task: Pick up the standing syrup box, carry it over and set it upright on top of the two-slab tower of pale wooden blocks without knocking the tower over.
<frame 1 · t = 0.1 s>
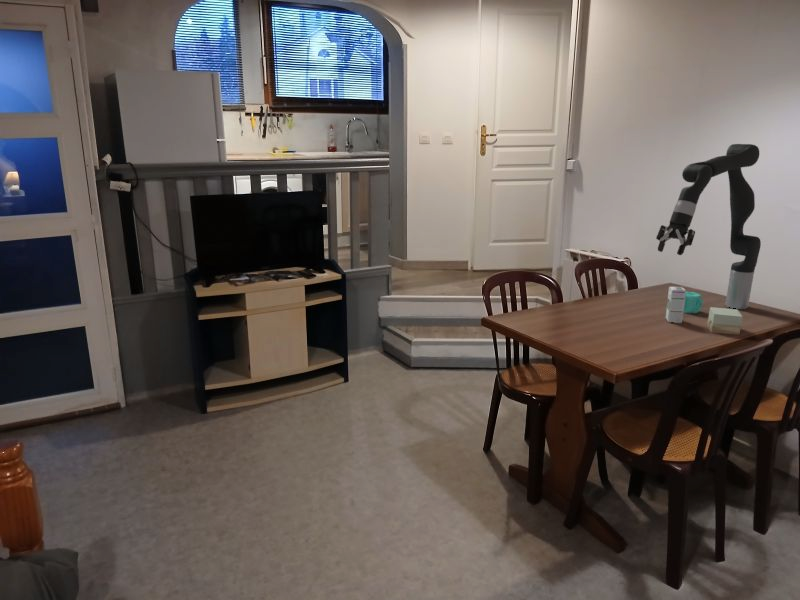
hand: (669, 253, 232), 31 cm above the table, tool tilted 20°, fingers open, 8 cm apart
decorative dice: (688, 311, 263), on the table
tower bottom: (722, 330, 238), on the table, touching tower top
tower top: (724, 321, 237), point 4 cm above the table, touching tower bottom
syrup box: (673, 321, 249), on the table
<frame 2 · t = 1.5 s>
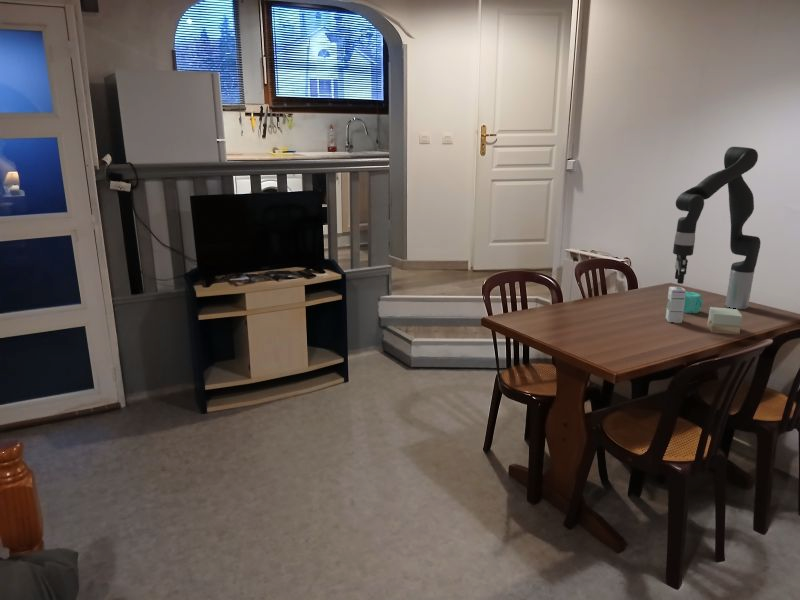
hand: (678, 281, 244), 18 cm above the table, tool pointing down, fingers open, 8 cm apart
nothing on the table moved.
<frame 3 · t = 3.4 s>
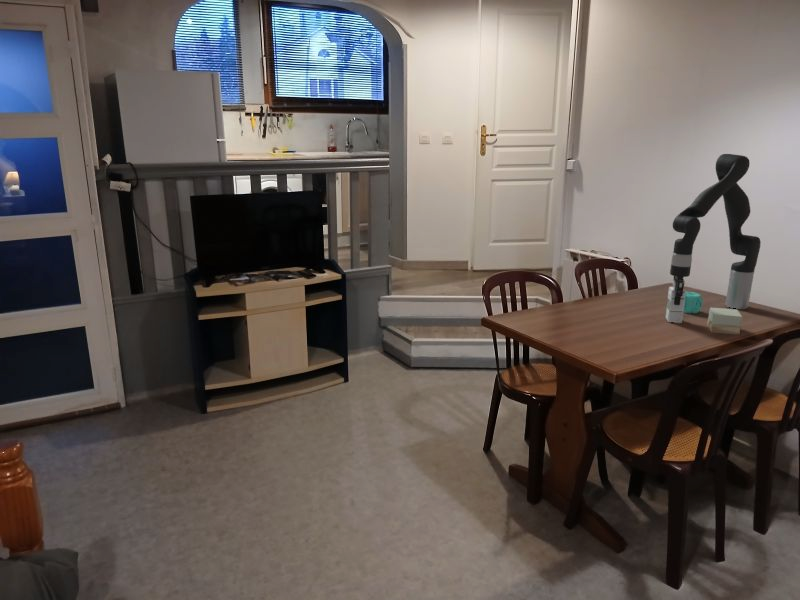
hand: (675, 302, 247), 8 cm above the table, tool pointing down, fingers closed on syrup box, 6 cm apart
syrup box: (673, 321, 249), on the table, touching gripper
everything else where it was.
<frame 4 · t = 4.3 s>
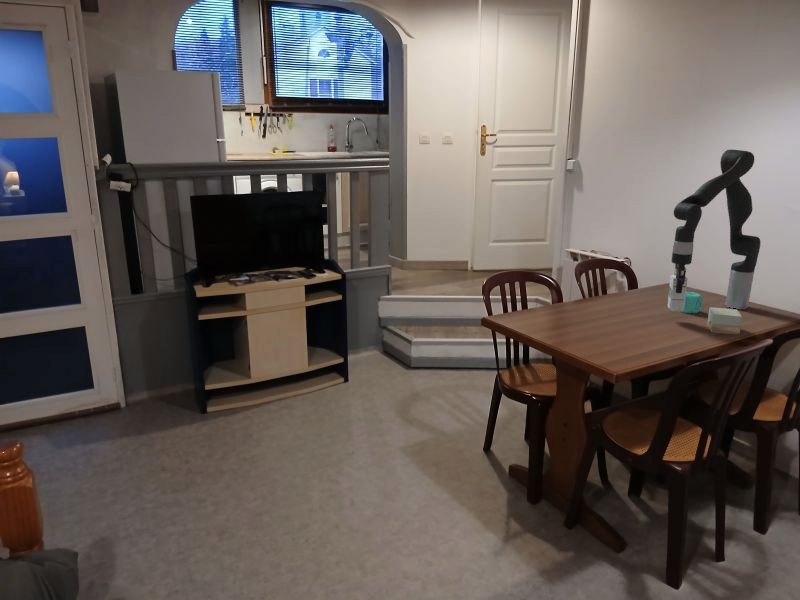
hand: (677, 290, 246), 13 cm above the table, tool pointing down, fingers closed on syrup box, 6 cm apart
syrup box: (675, 309, 248), point 5 cm above the table, touching gripper
everything else where it was.
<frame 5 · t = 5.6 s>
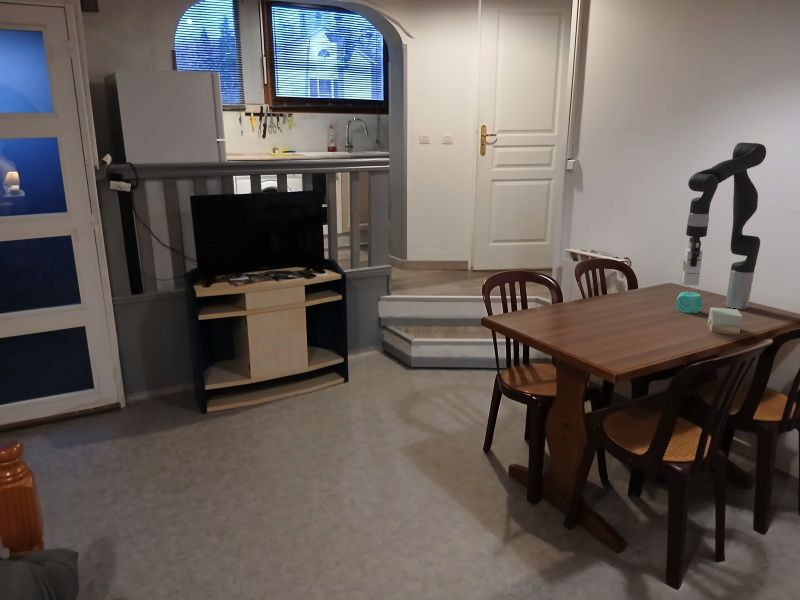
hand: (692, 264, 240), 25 cm above the table, tool pointing down, fingers closed on syrup box, 6 cm apart
tower bottom: (722, 330, 238), on the table
tower top: (724, 321, 237), point 4 cm above the table
syrup box: (689, 284, 242), point 17 cm above the table, touching gripper
everything else where it was.
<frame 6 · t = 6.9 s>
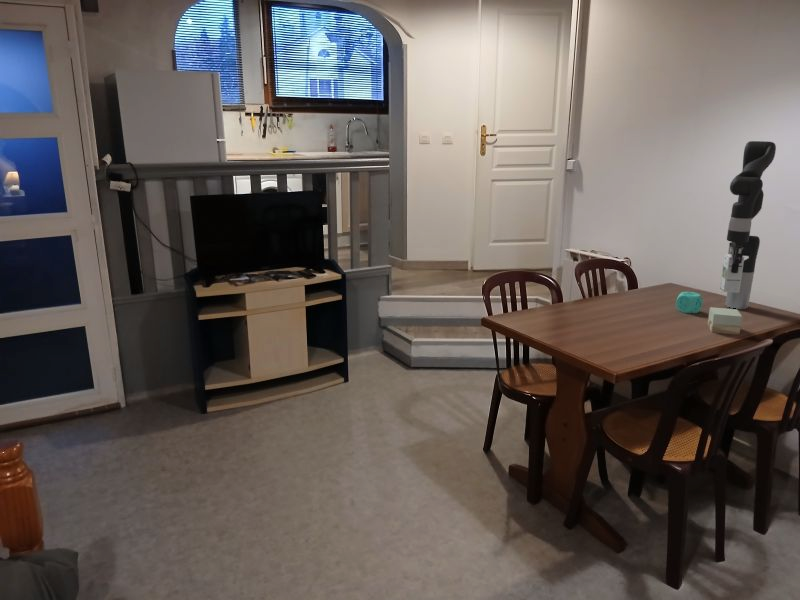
hand: (732, 271, 232), 25 cm above the table, tool pointing down, fingers closed on syrup box, 6 cm apart
tower bottom: (722, 330, 238), on the table, touching tower top
tower top: (724, 321, 237), point 4 cm above the table, touching tower bottom
syrup box: (729, 291, 234), point 16 cm above the table, touching gripper
everything else where it was.
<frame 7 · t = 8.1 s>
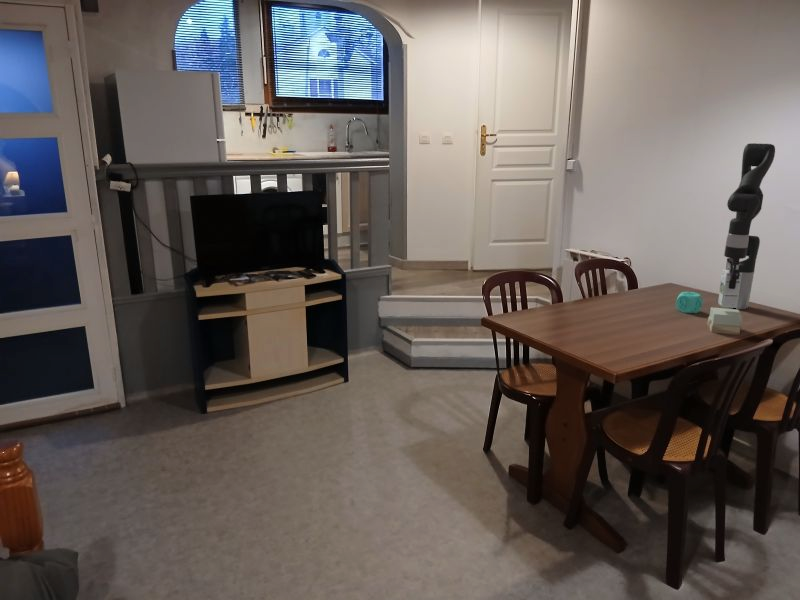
hand: (730, 286, 233), 18 cm above the table, tool pointing down, fingers closed on syrup box, 6 cm apart
syrup box: (726, 306, 236), point 10 cm above the table, touching gripper
everything else where it was.
when the fingers open (17 cm above the table, at t = 9.5 s): syrup box moves 1 cm, resting on tower top.
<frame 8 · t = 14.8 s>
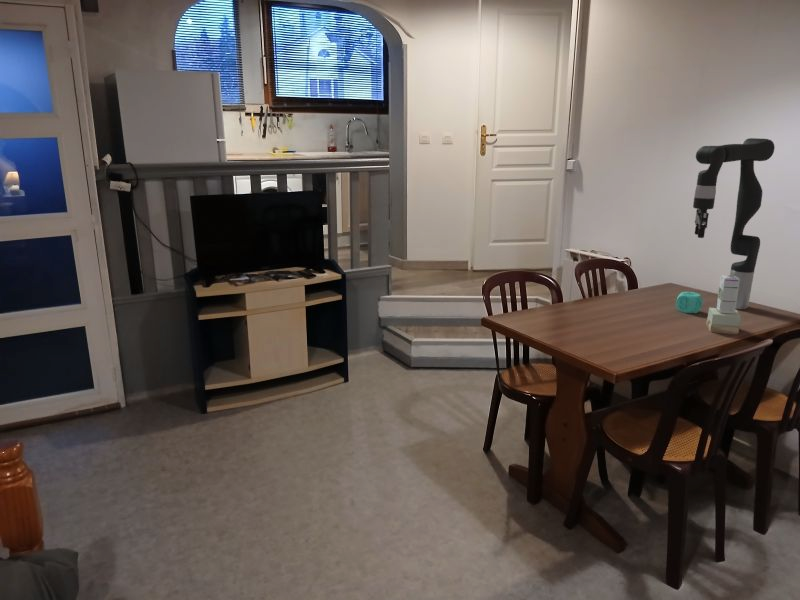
hand: (699, 236, 242), 36 cm above the table, tool pointing down, fingers open, 8 cm apart
tower top: (723, 321, 237), point 3 cm above the table, touching syrup box, tower bottom
syrup box: (725, 312, 236), point 7 cm above the table, touching tower top
everything else where it was.
at the end: syrup box inside the target area on the tower top (0.1 cm from its centre), point 4.0 cm above the tower top's base; syrup box tilted 4°; tower top moved 0.6 cm from its start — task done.
